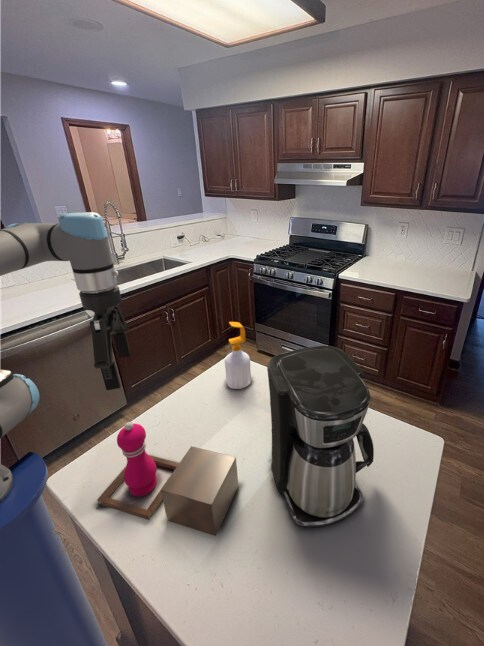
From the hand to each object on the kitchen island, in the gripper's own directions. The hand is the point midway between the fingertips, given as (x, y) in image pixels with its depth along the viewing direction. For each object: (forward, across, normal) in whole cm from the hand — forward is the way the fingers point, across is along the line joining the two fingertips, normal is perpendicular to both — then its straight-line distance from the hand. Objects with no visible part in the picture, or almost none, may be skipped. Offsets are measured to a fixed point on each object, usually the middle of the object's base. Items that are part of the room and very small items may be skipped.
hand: (119, 371), depth 75 cm
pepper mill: (+28, -9, -2) cm, 30 cm away
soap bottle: (+28, +26, -31) cm, 49 cm away
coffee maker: (+28, -17, -46) cm, 56 cm away
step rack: (+28, -14, -9) cm, 32 cm away
